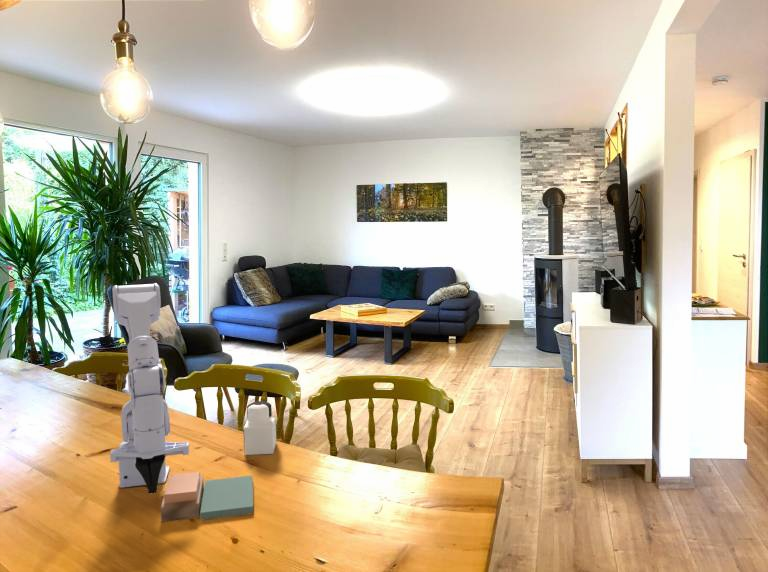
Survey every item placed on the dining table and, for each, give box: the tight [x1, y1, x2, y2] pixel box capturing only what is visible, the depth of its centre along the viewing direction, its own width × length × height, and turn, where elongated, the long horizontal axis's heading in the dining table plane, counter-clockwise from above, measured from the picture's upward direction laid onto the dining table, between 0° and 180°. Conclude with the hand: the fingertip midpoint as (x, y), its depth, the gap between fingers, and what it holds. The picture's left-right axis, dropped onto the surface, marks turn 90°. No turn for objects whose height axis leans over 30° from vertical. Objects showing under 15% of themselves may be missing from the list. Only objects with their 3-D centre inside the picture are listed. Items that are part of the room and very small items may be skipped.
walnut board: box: [160, 475, 205, 523], centre depth 116 cm, size 7×12×3 cm, turn 13°
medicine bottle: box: [242, 400, 277, 456], centre depth 144 cm, size 7×7×12 cm
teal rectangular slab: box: [199, 475, 254, 521], centre depth 119 cm, size 10×14×2 cm
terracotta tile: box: [163, 471, 201, 504], centre depth 116 cm, size 6×9×2 cm, turn 13°
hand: (153, 491), depth 115 cm, fingers closed
